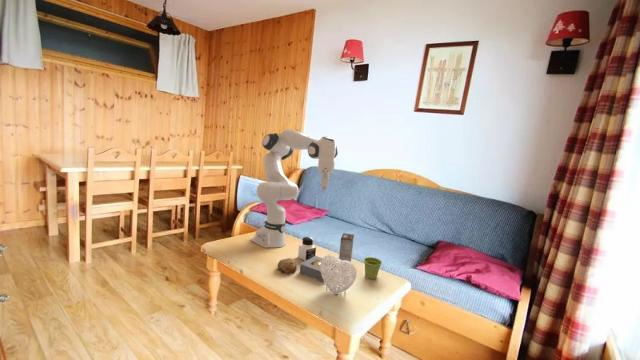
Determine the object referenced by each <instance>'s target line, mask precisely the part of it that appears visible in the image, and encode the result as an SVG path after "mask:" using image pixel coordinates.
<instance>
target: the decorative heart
mask: <svg viewBox="0 0 640 360" xmlns="http://www.w3.org/2000/svg"><path fill="white" fill-rule="evenodd" d="M322 258H323V259H322V261H321V265H320V270H321V275H322V278H323V280H324V282H323V283H324V284H325V291H328V290H329V292H331V293H332V294H333V295H338V294H339V296H340V297H341V296H342V293H343V292H344V293H343V297H344V298H346V295H347V293H346V292H347V291H348V289H350V288H351V287H352V286H353V285H354V283H355V281H356V278H357V268H356V266H355V264H354V263H353V262H352V261H351V262H350V261H347V260H340V259H339V256H336V255H334V254H326V255H325V256H324V257H322ZM325 261H326V262H325ZM330 261H332V262H330ZM327 262H328V263H327ZM325 263H326V265H325ZM330 263H331V264H330ZM338 263H339V264H338ZM345 263H346V264H345ZM329 264H330V265H329ZM332 264H334V265H332ZM327 265H328V267H327ZM335 265H336V266H335ZM343 265H344V266H343ZM329 266H330V267H329ZM331 266H332V267H331ZM334 267H335V268H334ZM325 268H326V269H325ZM332 269H333V270H332ZM326 270H327V271H326ZM327 272H328V273H327ZM324 273H325V275H324ZM333 274H334V275H333ZM326 278H327V279H326Z"/></svg>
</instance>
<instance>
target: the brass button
mask: <svg viewBox="0 0 640 360" xmlns="http://www.w3.org/2000/svg"><path fill="white" fill-rule="evenodd" d="M313 265H315V266H317V267H320V265H321V261H314V263H313Z"/></svg>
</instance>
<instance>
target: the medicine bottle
mask: <svg viewBox="0 0 640 360" xmlns="http://www.w3.org/2000/svg"><path fill="white" fill-rule="evenodd" d="M301 242H302V243H301V244H299V245H298V253H297V257H298V258H299V259H300V260H302V259H303V262H305V261H307V260H308V259H310V258H312V257H314V256H316V251H317V247H316V245H314V238H313V237H311V236H304V237H303V238H302V241H301Z"/></svg>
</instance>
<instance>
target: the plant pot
mask: <svg viewBox="0 0 640 360" xmlns="http://www.w3.org/2000/svg"><path fill="white" fill-rule="evenodd" d="M363 262H364V276H365V278H367V279H369V280H375V279H377V278H378V274H379V270H380V268H381V266H382V264H383V261H382V260H381V259H379V258H376V257H371V256H367V257H364V258H363Z"/></svg>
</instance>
